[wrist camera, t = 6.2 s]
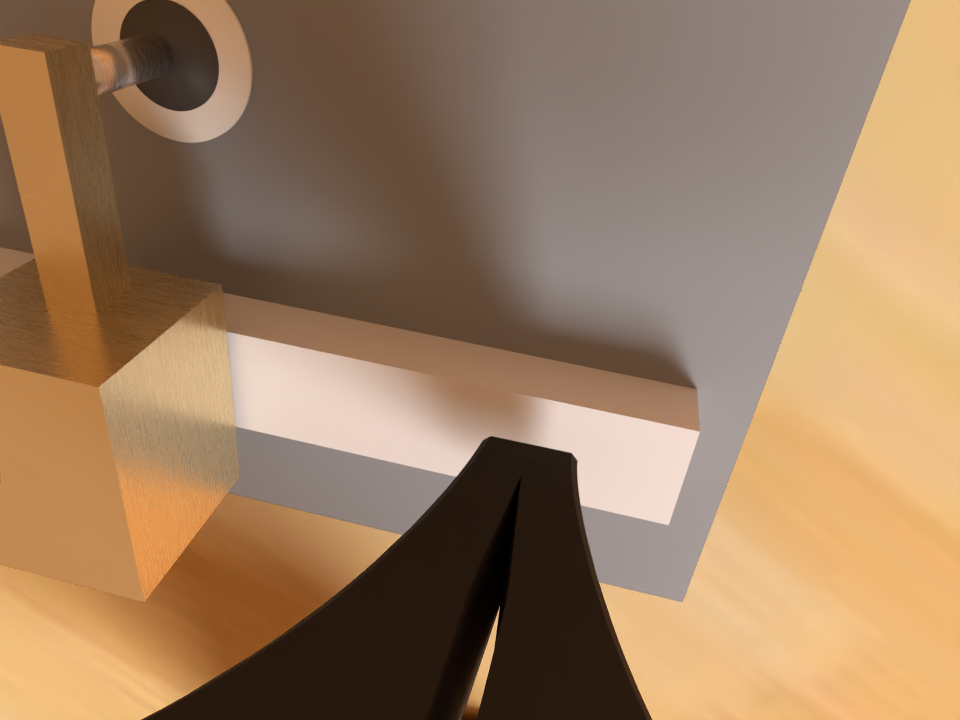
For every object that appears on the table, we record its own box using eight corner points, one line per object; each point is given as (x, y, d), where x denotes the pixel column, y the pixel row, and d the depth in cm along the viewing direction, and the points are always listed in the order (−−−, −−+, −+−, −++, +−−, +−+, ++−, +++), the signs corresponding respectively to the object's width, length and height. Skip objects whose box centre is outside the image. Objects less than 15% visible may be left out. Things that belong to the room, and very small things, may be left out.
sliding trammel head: (268, 438, 15) (143, 602, 11) (132, 406, 15) (-31, 556, 12) (243, 34, 11) (37, 93, 7) (57, 5, 11) (-226, 48, 8)
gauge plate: (681, 548, 16) (687, 815, 11) (-183, 348, 19) (-470, 495, 14) (909, -91, 10) (1143, -96, 5) (-451, -253, 12) (-1144, -357, 8)
